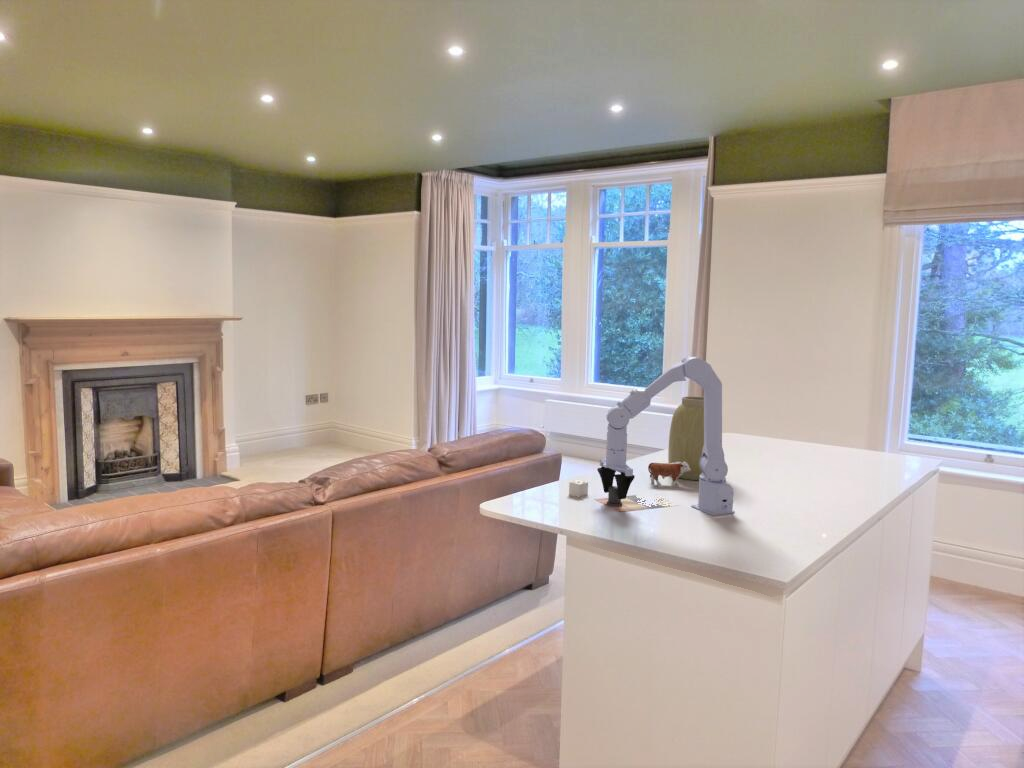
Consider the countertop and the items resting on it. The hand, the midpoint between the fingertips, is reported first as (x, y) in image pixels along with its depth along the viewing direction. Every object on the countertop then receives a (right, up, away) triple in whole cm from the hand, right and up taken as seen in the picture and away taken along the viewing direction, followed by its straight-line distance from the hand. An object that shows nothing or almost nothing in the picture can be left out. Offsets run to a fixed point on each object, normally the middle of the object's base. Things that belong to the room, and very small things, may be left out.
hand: (614, 495), depth 202 cm
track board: (+7, -3, +3) cm, 8 cm away
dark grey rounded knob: (0, -3, 0) cm, 3 cm away
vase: (+33, 0, +40) cm, 52 cm away
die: (-9, -2, +11) cm, 15 cm away
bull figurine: (+21, -1, +26) cm, 34 cm away
